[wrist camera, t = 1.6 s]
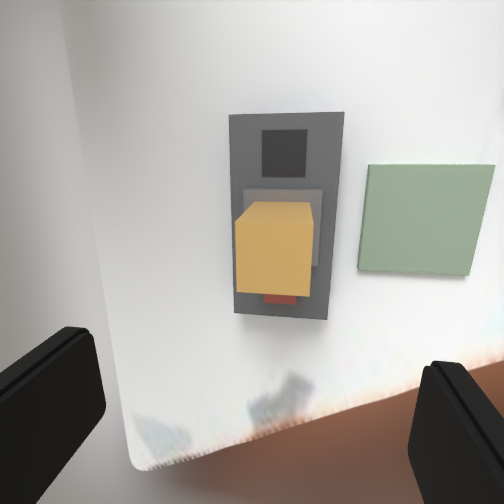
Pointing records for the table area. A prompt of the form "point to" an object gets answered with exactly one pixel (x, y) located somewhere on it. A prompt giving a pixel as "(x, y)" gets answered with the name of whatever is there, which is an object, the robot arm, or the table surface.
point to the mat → (423, 217)
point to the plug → (278, 240)
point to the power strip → (288, 177)
